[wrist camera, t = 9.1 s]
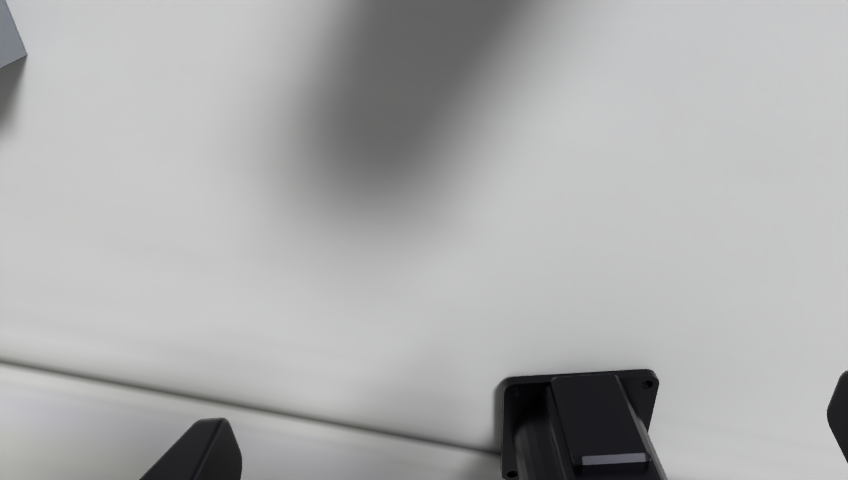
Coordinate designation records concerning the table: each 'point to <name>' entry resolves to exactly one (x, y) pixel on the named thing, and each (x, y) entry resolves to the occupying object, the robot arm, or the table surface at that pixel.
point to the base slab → (9, 37)
